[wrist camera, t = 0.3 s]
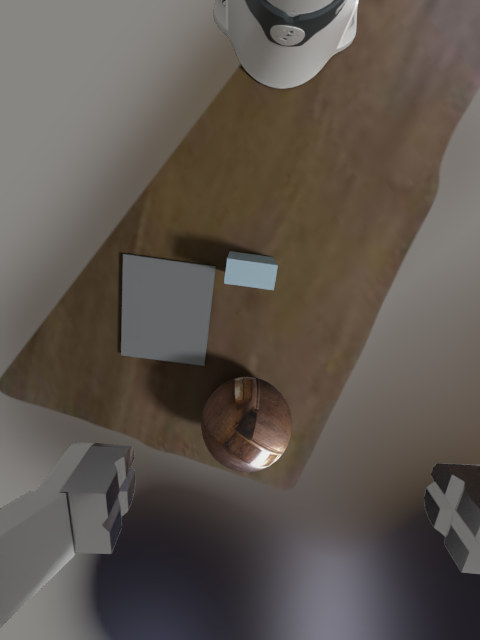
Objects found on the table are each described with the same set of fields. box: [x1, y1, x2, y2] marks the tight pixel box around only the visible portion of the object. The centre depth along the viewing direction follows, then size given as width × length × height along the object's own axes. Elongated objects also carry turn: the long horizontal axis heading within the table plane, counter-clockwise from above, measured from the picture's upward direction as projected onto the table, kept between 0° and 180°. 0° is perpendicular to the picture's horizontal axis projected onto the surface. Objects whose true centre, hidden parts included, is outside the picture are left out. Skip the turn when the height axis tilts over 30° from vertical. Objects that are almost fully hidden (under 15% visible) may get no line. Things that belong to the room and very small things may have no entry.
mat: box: [121, 254, 216, 366], centre depth 55 cm, size 18×15×1 cm
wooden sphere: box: [201, 377, 292, 472], centre depth 53 cm, size 15×15×15 cm
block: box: [224, 251, 278, 290], centre depth 48 cm, size 4×7×9 cm, turn 82°
